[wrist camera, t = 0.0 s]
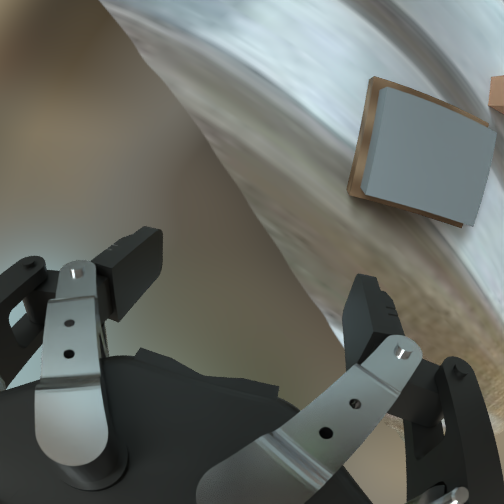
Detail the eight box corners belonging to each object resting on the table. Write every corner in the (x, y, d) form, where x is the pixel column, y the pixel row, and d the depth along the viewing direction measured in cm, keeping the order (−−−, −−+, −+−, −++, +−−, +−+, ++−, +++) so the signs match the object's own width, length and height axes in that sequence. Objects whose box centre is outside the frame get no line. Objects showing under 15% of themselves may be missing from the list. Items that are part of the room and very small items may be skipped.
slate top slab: (379, 90, 30) (387, 86, 26) (482, 130, 28) (497, 132, 24) (360, 187, 35) (365, 194, 32) (460, 216, 34) (473, 226, 30)
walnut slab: (368, 80, 33) (374, 76, 29) (475, 122, 31) (488, 123, 27) (345, 188, 40) (349, 195, 36) (450, 219, 38) (461, 228, 34)
